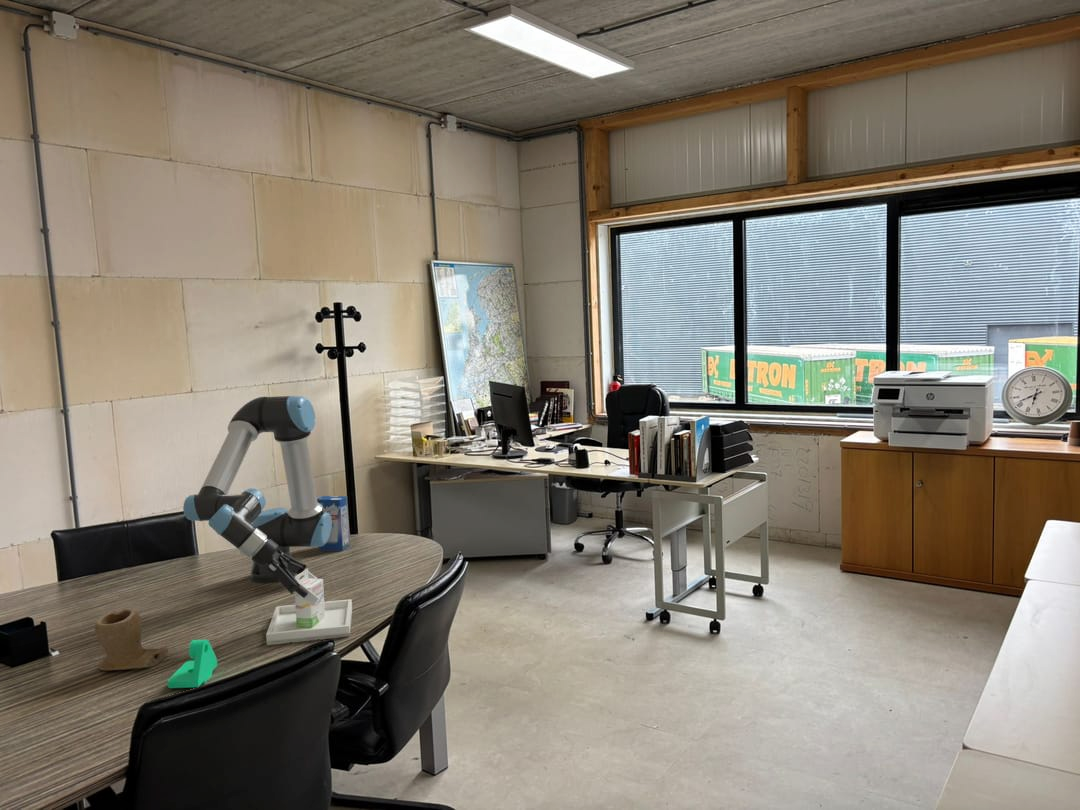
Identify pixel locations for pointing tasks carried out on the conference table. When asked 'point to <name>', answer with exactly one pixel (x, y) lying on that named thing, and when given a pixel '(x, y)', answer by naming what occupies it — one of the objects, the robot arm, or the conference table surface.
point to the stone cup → (125, 642)
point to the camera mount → (195, 666)
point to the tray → (329, 627)
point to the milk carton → (336, 522)
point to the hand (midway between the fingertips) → (317, 594)
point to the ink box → (304, 610)
